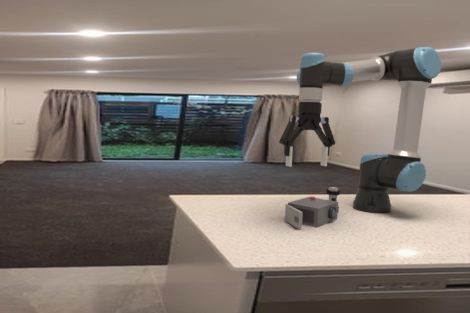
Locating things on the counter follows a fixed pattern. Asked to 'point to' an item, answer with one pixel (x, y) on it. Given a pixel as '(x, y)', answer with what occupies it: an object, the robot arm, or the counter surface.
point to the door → (293, 216)
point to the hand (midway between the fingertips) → (306, 166)
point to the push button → (333, 194)
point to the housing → (316, 210)
